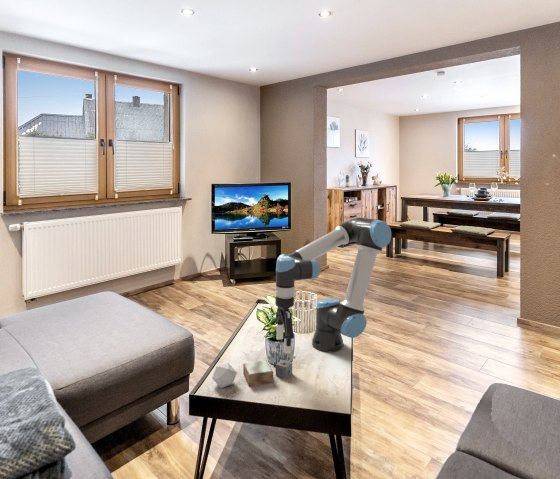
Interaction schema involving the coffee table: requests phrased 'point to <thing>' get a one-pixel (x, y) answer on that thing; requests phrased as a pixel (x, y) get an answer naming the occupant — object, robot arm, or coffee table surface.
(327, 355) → the coffee table surface
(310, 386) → the coffee table surface
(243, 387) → the coffee table surface
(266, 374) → the walnut base
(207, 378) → the coffee table surface
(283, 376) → the grey cube
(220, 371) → the white faceted polyhedron
